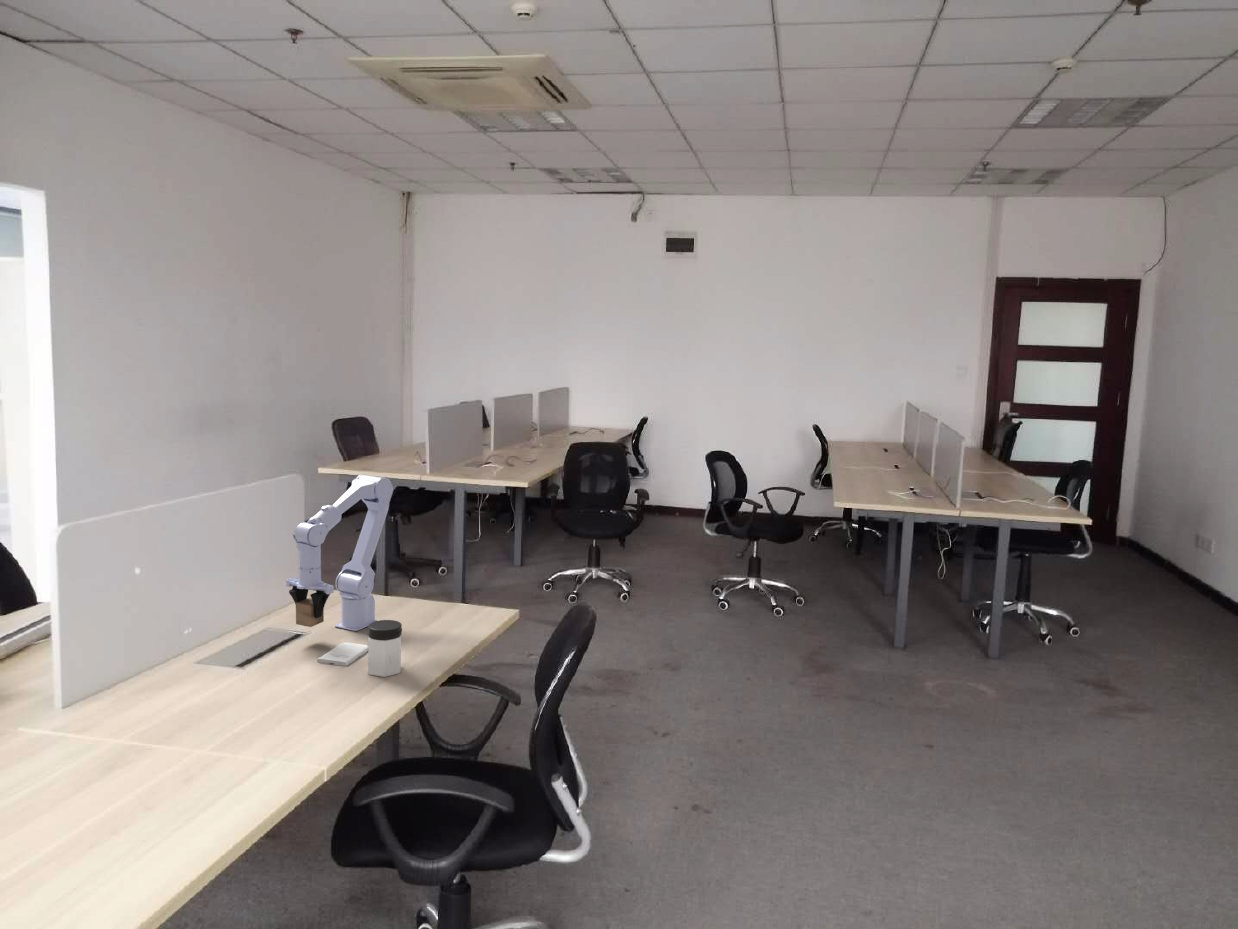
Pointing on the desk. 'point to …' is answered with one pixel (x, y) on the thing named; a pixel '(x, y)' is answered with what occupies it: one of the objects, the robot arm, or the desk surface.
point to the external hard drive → (343, 654)
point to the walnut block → (307, 613)
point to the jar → (384, 648)
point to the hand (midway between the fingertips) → (310, 615)
